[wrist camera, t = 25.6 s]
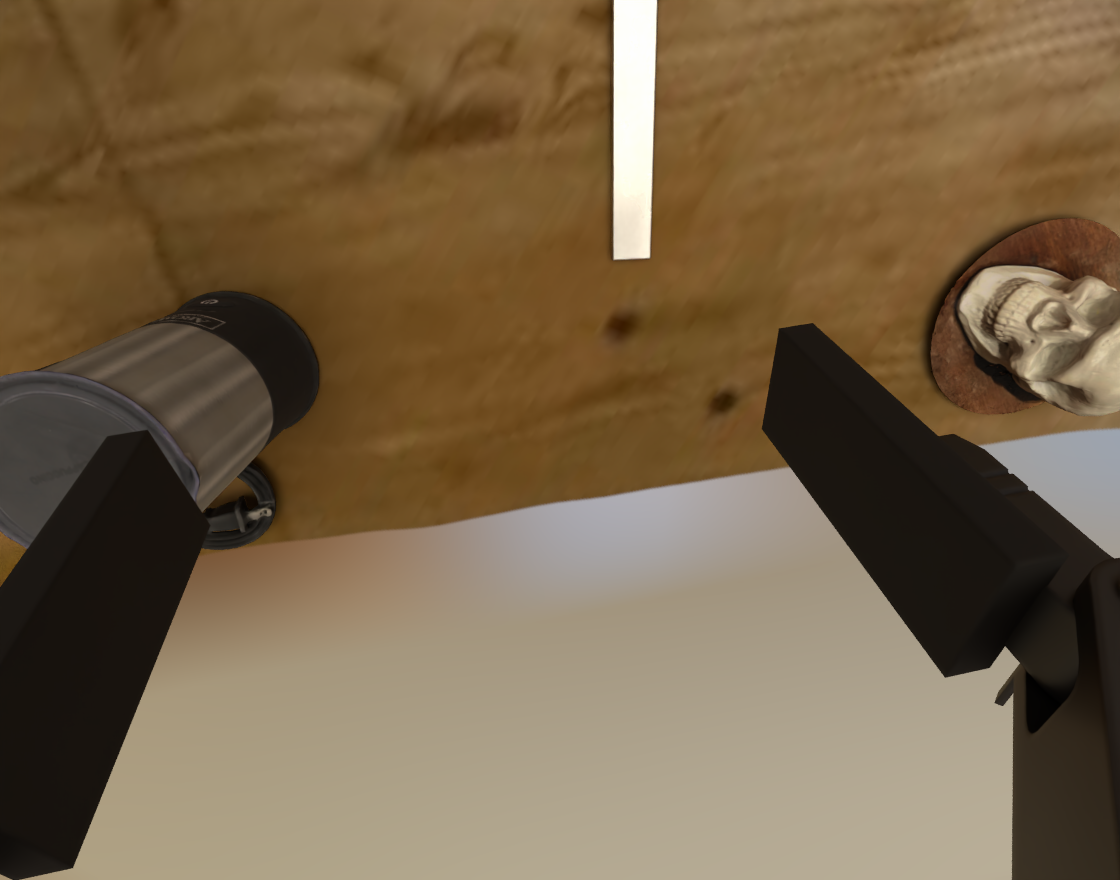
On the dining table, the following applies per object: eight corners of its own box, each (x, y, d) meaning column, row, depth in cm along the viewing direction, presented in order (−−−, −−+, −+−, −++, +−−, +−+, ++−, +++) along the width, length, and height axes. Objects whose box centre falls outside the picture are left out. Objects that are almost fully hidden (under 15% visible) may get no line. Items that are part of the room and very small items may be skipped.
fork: (661, 256, 34) (664, 259, 33) (599, 259, 34) (600, 262, 33) (682, -358, 24) (689, -383, 23) (594, -354, 24) (596, -378, 23)
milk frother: (278, 268, 34) (102, 339, 21) (390, 492, 41) (311, 655, 27) (68, 340, 36) (-219, 447, 23) (209, 543, 42) (50, 720, 29)
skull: (879, 368, 36) (1072, 298, 27) (914, 246, 40) (1095, 147, 30) (1009, 466, 39) (1227, 433, 29) (1031, 343, 42) (1230, 279, 33)
